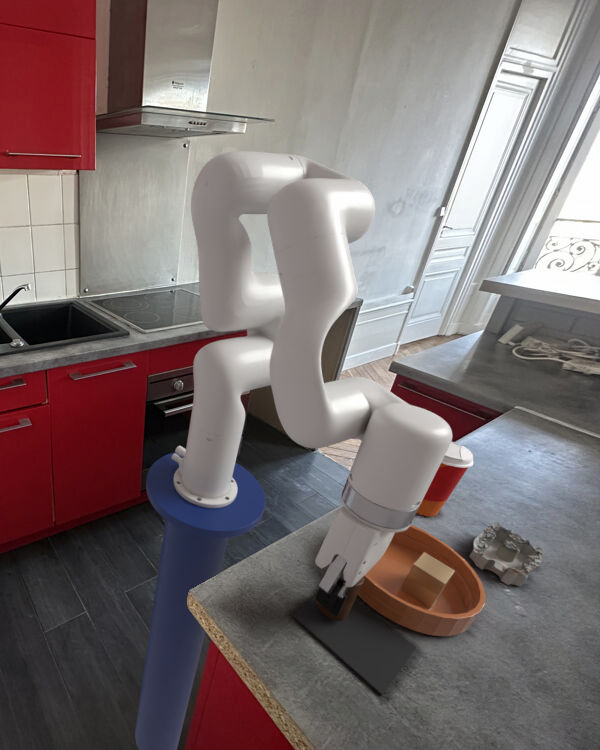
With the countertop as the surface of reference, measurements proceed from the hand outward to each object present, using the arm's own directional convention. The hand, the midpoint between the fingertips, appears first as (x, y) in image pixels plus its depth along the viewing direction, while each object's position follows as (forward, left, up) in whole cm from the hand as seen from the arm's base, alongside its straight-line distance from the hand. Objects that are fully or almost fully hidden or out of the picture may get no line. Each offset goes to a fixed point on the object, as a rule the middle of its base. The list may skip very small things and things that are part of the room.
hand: (335, 597), depth 58 cm
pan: (+3, +15, -4) cm, 16 cm away
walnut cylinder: (0, 0, -2) cm, 2 cm away
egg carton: (+11, +34, -4) cm, 36 cm away
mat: (+3, 0, -4) cm, 5 cm away
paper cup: (-2, +37, -4) cm, 37 cm away
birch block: (+6, +15, -3) cm, 17 cm away
